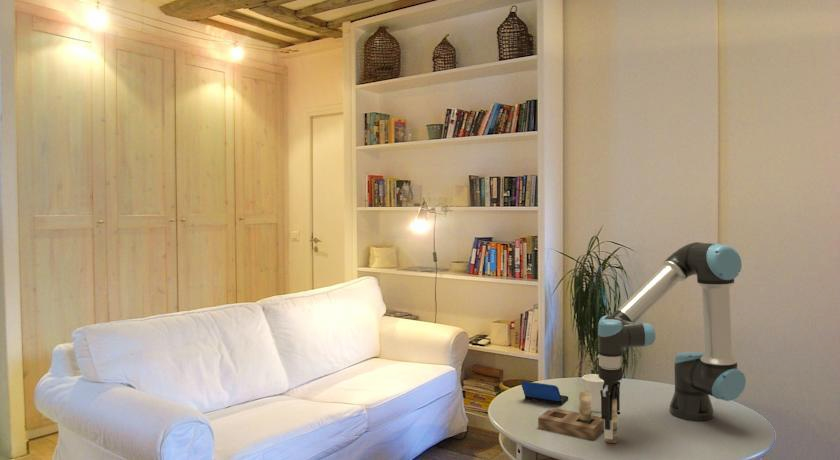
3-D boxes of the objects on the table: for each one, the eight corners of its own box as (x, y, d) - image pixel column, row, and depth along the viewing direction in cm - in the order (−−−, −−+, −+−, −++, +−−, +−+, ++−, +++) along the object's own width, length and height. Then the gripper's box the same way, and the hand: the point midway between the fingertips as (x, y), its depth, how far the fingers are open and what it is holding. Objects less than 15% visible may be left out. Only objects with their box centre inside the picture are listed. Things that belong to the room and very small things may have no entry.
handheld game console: (569, 399, 245) (569, 377, 244) (558, 409, 233) (557, 386, 233) (533, 393, 253) (532, 372, 253) (520, 403, 242) (520, 380, 241)
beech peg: (619, 439, 202) (618, 398, 201) (615, 444, 198) (614, 402, 198) (606, 437, 204) (606, 396, 203) (602, 441, 201) (602, 400, 200)
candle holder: (605, 404, 238) (605, 374, 237) (611, 412, 228) (611, 381, 227) (580, 403, 239) (580, 373, 238) (584, 412, 229) (584, 381, 228)
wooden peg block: (605, 429, 212) (605, 389, 211) (593, 440, 202) (593, 399, 202) (551, 418, 224) (551, 380, 223) (538, 428, 214) (537, 389, 213)
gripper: (607, 359, 209) (607, 425, 210) (590, 371, 195) (590, 442, 196) (629, 362, 205) (629, 429, 206) (613, 374, 191) (614, 447, 192)
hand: (610, 435), depth 201 cm, fingers closed on beech peg, 4 cm apart
